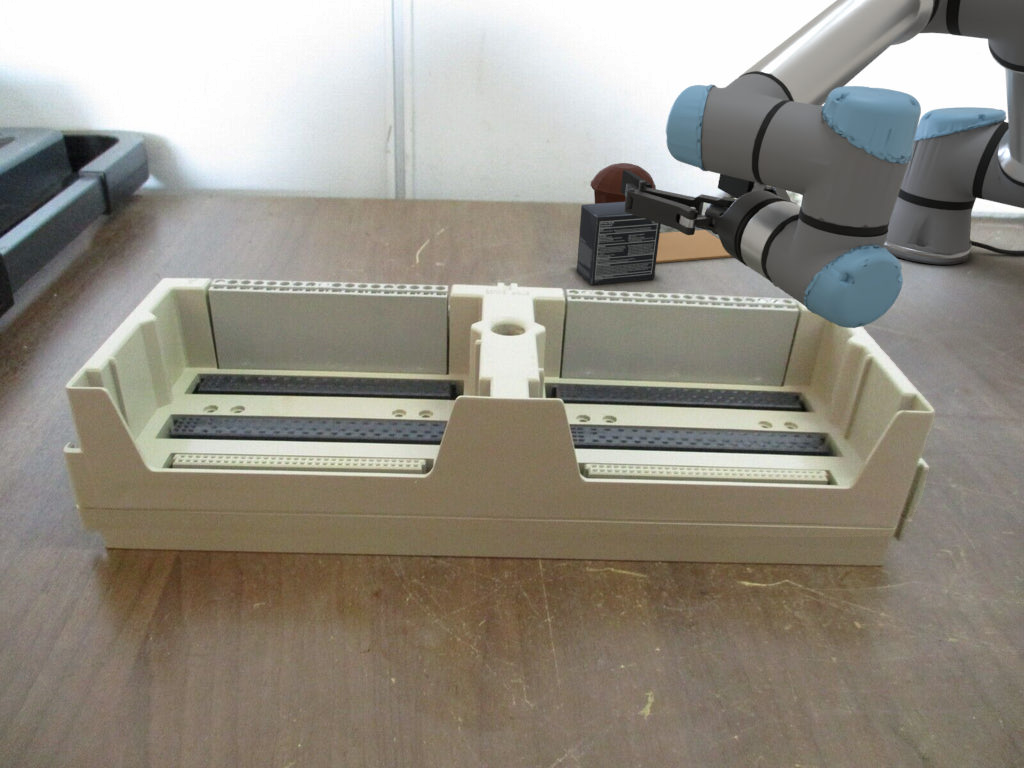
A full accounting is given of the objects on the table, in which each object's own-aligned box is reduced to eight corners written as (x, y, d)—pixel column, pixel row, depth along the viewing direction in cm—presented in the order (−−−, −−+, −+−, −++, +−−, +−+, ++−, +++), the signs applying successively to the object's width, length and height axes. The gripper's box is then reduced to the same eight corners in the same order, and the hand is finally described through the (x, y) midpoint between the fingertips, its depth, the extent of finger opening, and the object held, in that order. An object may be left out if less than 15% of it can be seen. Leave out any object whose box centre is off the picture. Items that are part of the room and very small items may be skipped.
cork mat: (705, 231, 135) (705, 229, 135) (741, 256, 125) (742, 254, 125) (600, 239, 129) (600, 237, 129) (630, 265, 119) (630, 263, 119)
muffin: (625, 208, 145) (631, 154, 139) (664, 226, 137) (672, 170, 131) (574, 216, 139) (578, 161, 134) (611, 235, 131) (618, 177, 126)
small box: (636, 264, 120) (645, 198, 115) (655, 280, 115) (665, 211, 109) (574, 269, 117) (580, 202, 112) (590, 285, 112) (597, 216, 106)
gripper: (654, 278, 77) (578, 213, 94) (861, 262, 84) (754, 204, 101) (665, 205, 73) (584, 151, 90) (881, 194, 80) (766, 146, 97)
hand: (674, 179), depth 96 cm, fingers open, 13 cm apart
